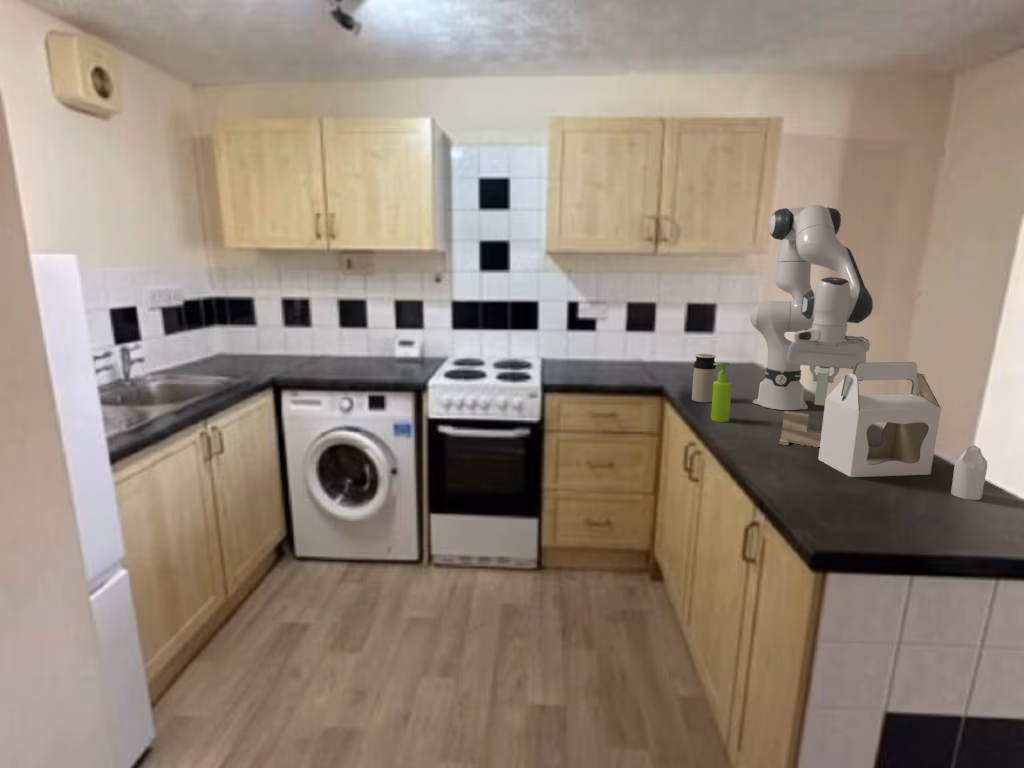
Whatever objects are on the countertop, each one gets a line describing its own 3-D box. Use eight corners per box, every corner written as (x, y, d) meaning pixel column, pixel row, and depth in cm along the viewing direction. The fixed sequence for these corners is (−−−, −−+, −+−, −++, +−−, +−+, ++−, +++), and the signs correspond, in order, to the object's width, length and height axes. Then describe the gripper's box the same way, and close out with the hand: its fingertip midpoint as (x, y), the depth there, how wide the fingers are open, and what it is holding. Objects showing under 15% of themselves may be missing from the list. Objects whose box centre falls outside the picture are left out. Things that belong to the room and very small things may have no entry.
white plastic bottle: (971, 449, 125) (951, 442, 130) (962, 500, 127) (943, 490, 133) (998, 449, 125) (976, 441, 131) (988, 500, 128) (968, 490, 133)
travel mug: (714, 403, 216) (718, 357, 212) (692, 402, 217) (696, 356, 214) (711, 398, 223) (714, 353, 220) (690, 397, 225) (693, 353, 221)
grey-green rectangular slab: (816, 395, 169) (820, 365, 167) (826, 396, 168) (829, 366, 166) (814, 404, 157) (817, 372, 155) (824, 405, 156) (828, 373, 154)
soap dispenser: (704, 418, 195) (708, 361, 190) (720, 416, 197) (725, 360, 193) (716, 423, 189) (720, 364, 185) (732, 421, 192) (737, 363, 187)
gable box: (892, 457, 156) (907, 357, 150) (931, 474, 143) (949, 366, 137) (816, 459, 154) (828, 358, 148) (849, 477, 141) (864, 367, 135)
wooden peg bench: (781, 437, 173) (784, 409, 172) (851, 447, 164) (855, 417, 162) (779, 444, 167) (782, 415, 165) (851, 455, 158) (855, 424, 156)
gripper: (870, 336, 160) (864, 383, 163) (790, 331, 170) (786, 376, 173) (871, 338, 155) (864, 387, 158) (788, 333, 165) (784, 380, 168)
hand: (822, 381), depth 166 cm, fingers closed on grey-green rectangular slab, 2 cm apart
